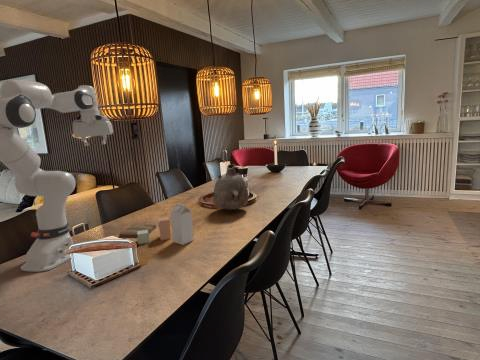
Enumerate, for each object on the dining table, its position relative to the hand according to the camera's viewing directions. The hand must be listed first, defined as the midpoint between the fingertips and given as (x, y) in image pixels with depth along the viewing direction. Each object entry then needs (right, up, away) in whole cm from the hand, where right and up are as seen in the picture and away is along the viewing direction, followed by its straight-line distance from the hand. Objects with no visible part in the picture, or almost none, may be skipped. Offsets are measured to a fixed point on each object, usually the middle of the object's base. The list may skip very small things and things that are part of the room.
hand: (95, 145), depth 164 cm
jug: (+71, -38, +33) cm, 87 cm away
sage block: (+28, -49, -10) cm, 57 cm away
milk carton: (+48, -48, -12) cm, 69 cm away
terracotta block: (+38, -48, -6) cm, 61 cm away
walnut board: (+21, -46, +4) cm, 51 cm away
